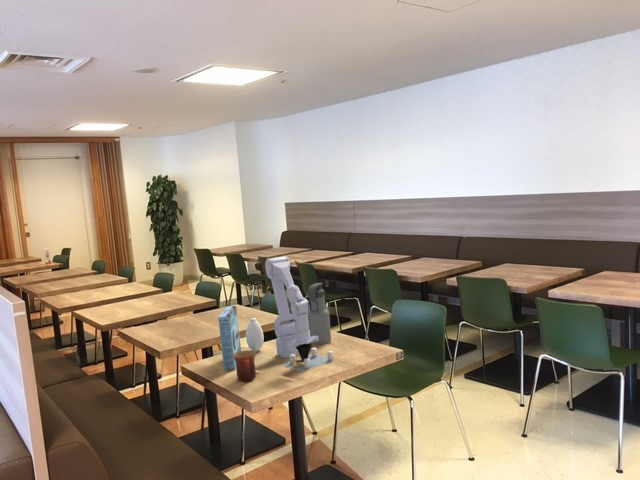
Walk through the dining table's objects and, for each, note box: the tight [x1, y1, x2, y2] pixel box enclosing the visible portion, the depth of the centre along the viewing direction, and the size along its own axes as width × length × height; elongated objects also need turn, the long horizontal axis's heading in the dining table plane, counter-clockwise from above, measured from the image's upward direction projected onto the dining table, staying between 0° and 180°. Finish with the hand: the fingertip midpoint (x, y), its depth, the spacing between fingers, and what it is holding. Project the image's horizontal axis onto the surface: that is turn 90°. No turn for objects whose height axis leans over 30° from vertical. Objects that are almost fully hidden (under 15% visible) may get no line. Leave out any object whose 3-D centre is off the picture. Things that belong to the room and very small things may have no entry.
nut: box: [293, 358, 304, 368], centre depth 212 cm, size 5×4×2 cm
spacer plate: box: [282, 347, 336, 373], centre depth 215 cm, size 13×18×4 cm
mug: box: [233, 349, 257, 383], centre depth 202 cm, size 12×9×10 cm
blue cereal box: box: [218, 305, 242, 371], centre depth 224 cm, size 19×5×23 cm, turn 0°
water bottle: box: [307, 282, 332, 345], centre depth 242 cm, size 10×10×28 cm
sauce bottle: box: [245, 313, 265, 352], centre depth 238 cm, size 8×8×18 cm
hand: (304, 361), depth 213 cm, fingers closed
